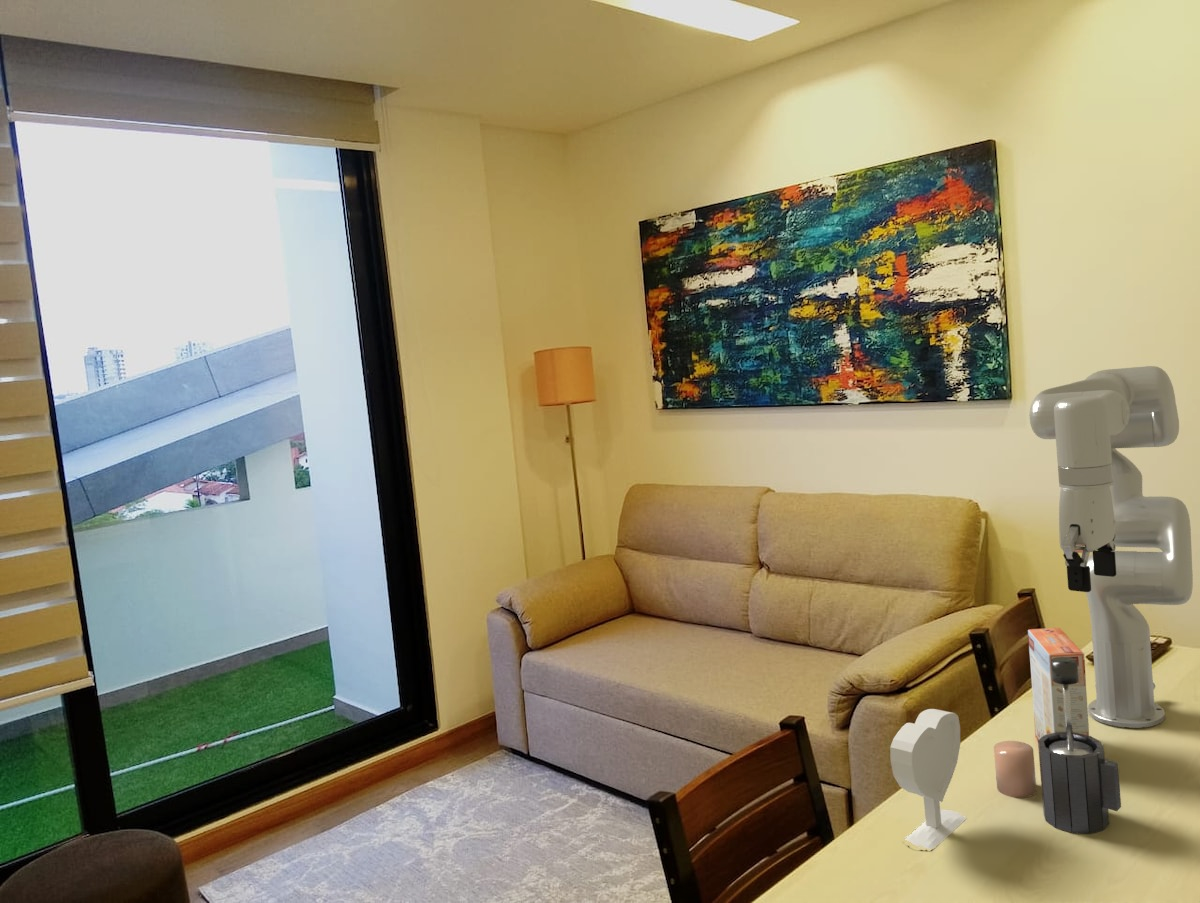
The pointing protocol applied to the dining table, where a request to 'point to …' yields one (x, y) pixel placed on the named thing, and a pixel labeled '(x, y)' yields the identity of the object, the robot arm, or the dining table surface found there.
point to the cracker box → (1050, 693)
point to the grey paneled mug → (1078, 786)
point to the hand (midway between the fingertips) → (1092, 583)
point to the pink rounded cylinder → (1015, 769)
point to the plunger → (1067, 705)
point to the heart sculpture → (928, 770)
